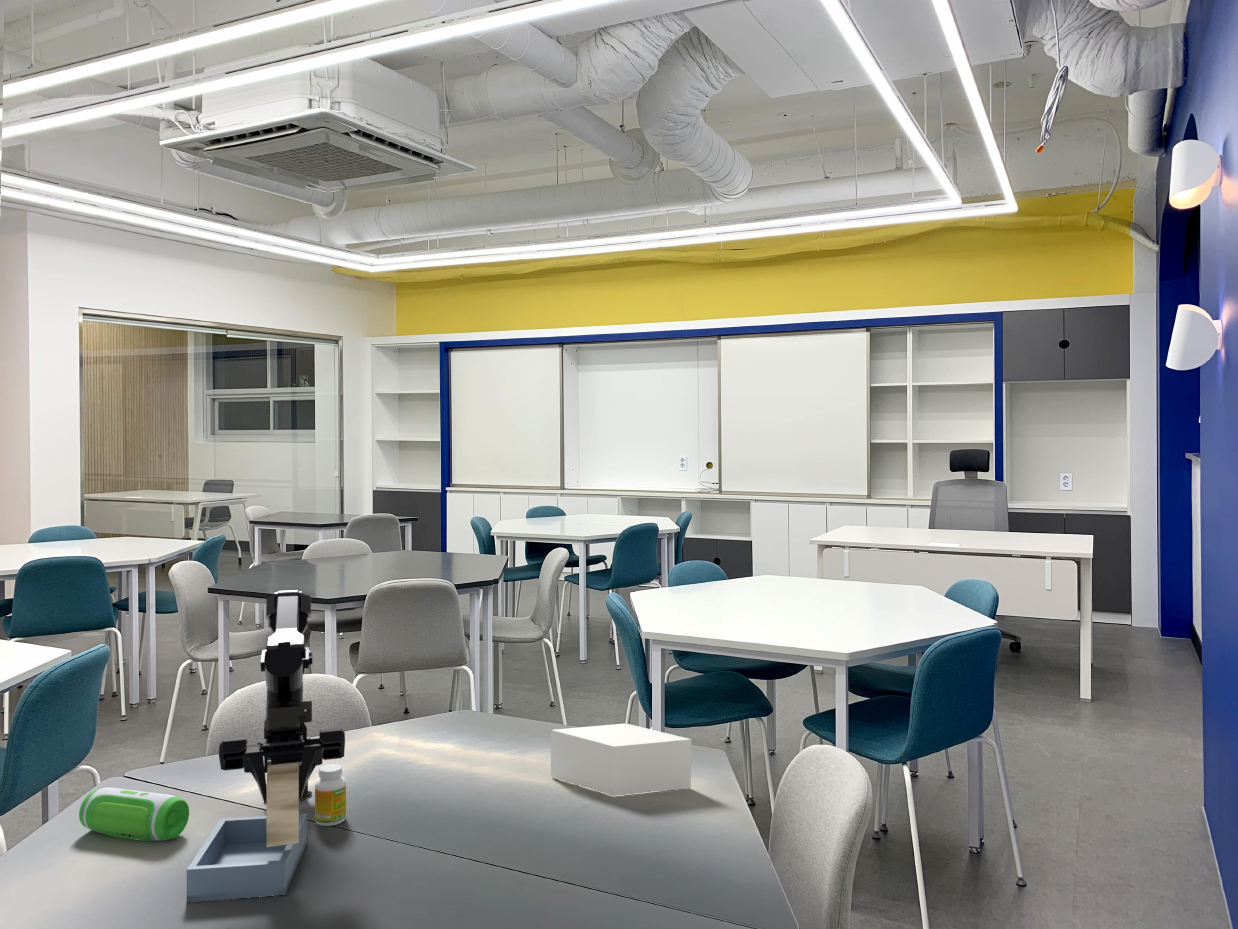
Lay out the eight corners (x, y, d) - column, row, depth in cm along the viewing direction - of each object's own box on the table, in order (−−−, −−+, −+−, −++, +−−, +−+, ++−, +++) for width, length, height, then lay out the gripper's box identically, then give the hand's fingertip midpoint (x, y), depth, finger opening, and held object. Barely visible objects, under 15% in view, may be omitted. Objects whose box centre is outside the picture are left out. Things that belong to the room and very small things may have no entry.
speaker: (192, 832, 154) (192, 790, 154) (160, 850, 147) (160, 806, 147) (110, 820, 159) (110, 779, 159) (76, 838, 152) (76, 795, 152)
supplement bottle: (336, 828, 156) (336, 774, 156) (309, 825, 157) (309, 771, 157) (351, 815, 161) (351, 763, 161) (324, 813, 162) (324, 761, 162)
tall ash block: (267, 834, 138) (267, 765, 138) (298, 830, 139) (299, 762, 139) (266, 847, 133) (266, 776, 133) (298, 843, 135) (298, 772, 135)
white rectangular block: (687, 804, 168) (688, 751, 168) (541, 792, 173) (542, 741, 173) (693, 776, 183) (694, 727, 182) (559, 766, 188) (559, 719, 187)
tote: (220, 848, 148) (220, 818, 148) (307, 842, 150) (307, 813, 150) (186, 902, 130) (186, 869, 130) (285, 895, 133) (285, 863, 132)
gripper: (219, 688, 136) (212, 784, 126) (344, 679, 143) (347, 770, 133) (224, 723, 144) (217, 816, 134) (342, 712, 150) (345, 801, 140)
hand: (282, 800), depth 135 cm, fingers closed on tall ash block, 5 cm apart
